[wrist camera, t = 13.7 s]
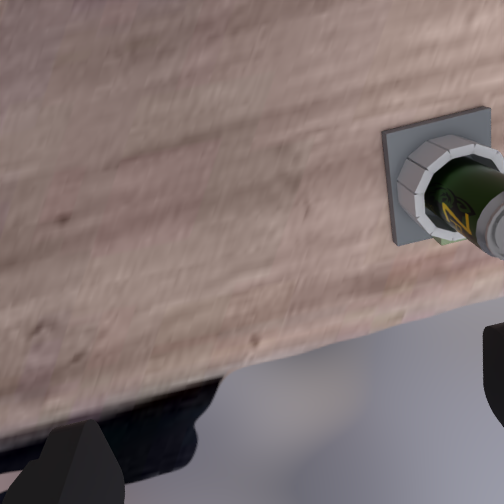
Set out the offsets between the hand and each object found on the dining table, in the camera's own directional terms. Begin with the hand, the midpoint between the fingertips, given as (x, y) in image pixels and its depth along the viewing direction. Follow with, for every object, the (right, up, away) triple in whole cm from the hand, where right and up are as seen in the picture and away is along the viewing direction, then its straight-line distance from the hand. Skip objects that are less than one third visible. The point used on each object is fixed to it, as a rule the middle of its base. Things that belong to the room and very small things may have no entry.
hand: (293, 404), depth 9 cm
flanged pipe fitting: (+16, +10, +33) cm, 39 cm away
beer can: (+16, +10, +32) cm, 38 cm away
